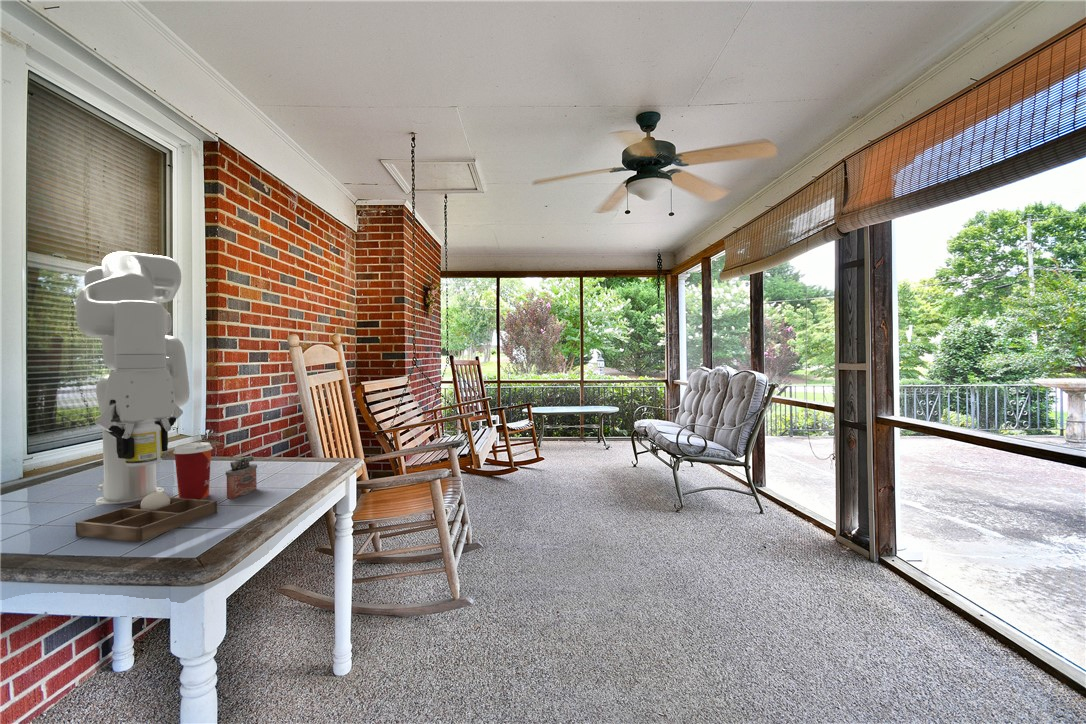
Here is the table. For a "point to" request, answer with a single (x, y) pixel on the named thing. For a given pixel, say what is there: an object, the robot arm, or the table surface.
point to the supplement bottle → (146, 443)
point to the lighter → (241, 477)
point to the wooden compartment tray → (145, 520)
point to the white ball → (155, 501)
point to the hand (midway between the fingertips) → (143, 453)
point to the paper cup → (193, 469)
